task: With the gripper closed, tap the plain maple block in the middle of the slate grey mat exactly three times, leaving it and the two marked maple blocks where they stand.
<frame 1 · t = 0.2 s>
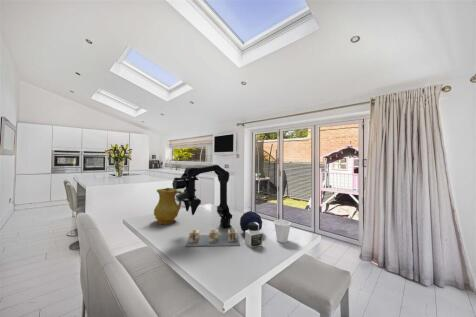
hand: (190, 213, 118), 14 cm above the table, tool pointing down, fingers open, 9 cm apart
pitcher: (167, 222, 143), on the table
plain block: (213, 239, 112), point 1 cm above the table, touching mat
marked block a: (194, 240, 111), point 1 cm above the table, touching mat
marked block b: (232, 239, 113), point 1 cm above the table, touching mat
medicine bottle: (253, 244, 109), on the table
mat: (213, 240, 112), on the table
cup: (282, 241, 114), on the table
decorative orb: (250, 233, 124), on the table
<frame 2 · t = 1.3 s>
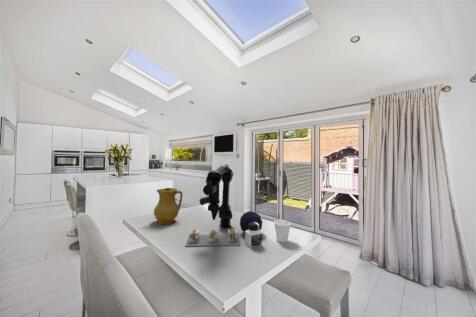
hand: (213, 218, 112), 13 cm above the table, tool pointing down, fingers open, 4 cm apart
nothing on the table moved.
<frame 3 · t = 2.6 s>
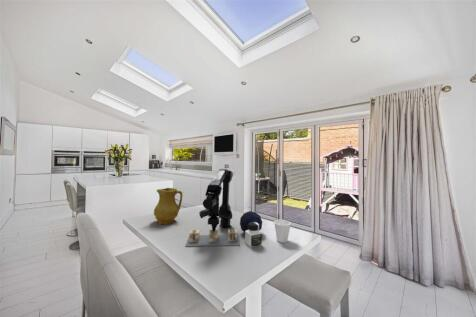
hand: (213, 231, 112), 6 cm above the table, tool pointing down, fingers closed, pressing on plain block
plain block: (213, 239, 112), point 1 cm above the table, touching gripper, mat
everything else where it was.
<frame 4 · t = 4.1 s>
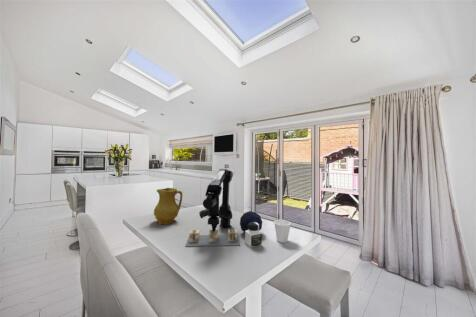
hand: (213, 231, 112), 6 cm above the table, tool pointing down, fingers closed, pressing on plain block
plain block: (213, 239, 112), point 1 cm above the table, touching gripper, mat
everything else where it was.
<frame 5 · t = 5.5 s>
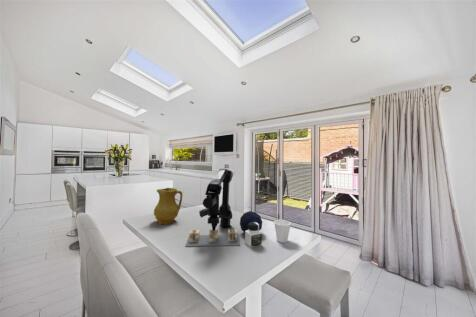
hand: (213, 230, 112), 6 cm above the table, tool pointing down, fingers closed
plain block: (213, 239, 112), point 1 cm above the table, touching mat
everything else where it was.
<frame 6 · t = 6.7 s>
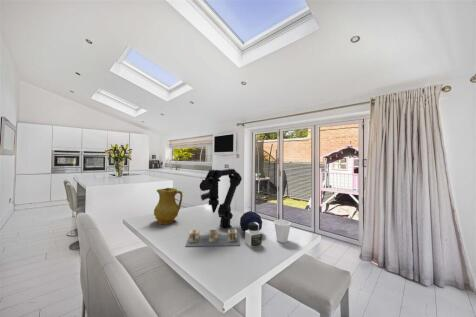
hand: (213, 212, 125), 13 cm above the table, tool pointing down, fingers closed
nothing on the table moved.
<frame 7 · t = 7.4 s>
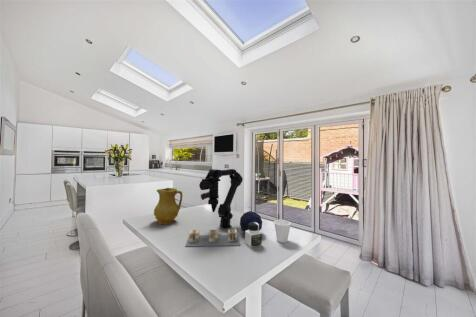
hand: (213, 211, 126), 13 cm above the table, tool pointing down, fingers closed
nothing on the table moved.
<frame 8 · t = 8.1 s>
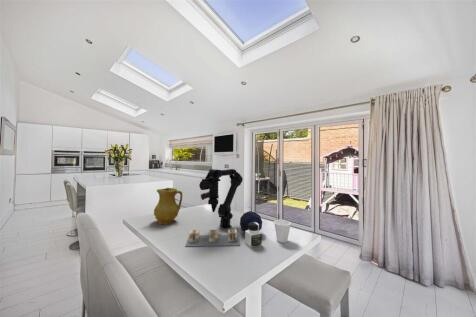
hand: (213, 211, 126), 13 cm above the table, tool pointing down, fingers closed
nothing on the table moved.
at the end: plain block moved 0.0 cm from its start; marked block a moved 0.0 cm from its start; marked block b moved 0.0 cm from its start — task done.
